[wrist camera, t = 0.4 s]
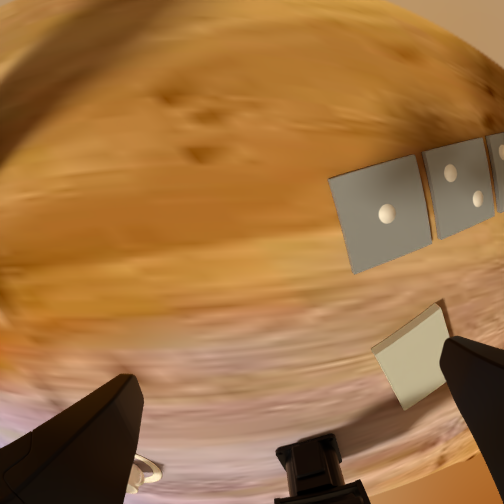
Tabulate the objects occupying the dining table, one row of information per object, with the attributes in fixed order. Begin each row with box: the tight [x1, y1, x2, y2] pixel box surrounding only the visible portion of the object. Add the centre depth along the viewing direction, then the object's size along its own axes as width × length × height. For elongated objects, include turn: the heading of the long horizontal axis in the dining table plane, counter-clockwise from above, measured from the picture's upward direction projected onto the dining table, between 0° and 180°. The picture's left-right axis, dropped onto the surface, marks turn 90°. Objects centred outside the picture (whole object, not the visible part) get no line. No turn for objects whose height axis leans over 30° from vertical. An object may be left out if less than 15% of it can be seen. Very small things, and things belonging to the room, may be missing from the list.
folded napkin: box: [371, 303, 449, 411], centre depth 23 cm, size 10×7×1 cm
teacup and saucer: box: [126, 454, 162, 494], centre depth 26 cm, size 9×8×4 cm
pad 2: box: [422, 138, 495, 240], centre depth 19 cm, size 7×7×1 cm
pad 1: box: [328, 155, 432, 274], centre depth 20 cm, size 7×7×1 cm
